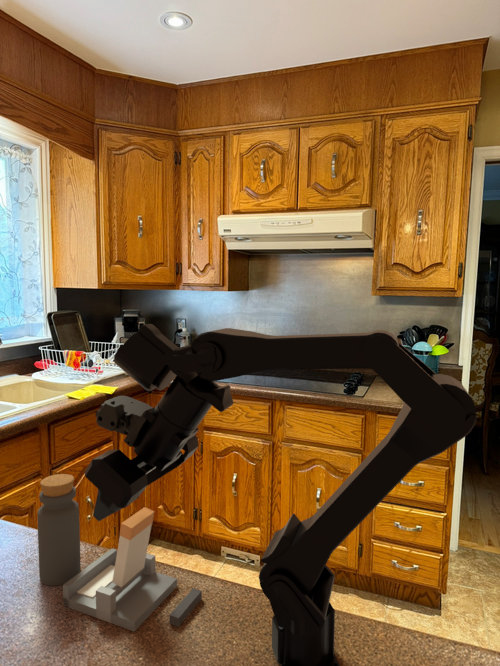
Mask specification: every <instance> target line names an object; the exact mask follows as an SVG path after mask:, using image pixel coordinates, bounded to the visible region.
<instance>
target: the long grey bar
mask: <svg viewBox="0 0 500 666" xmlns="http://www.w3.org/2000/svg"><path fill="white" fill-rule="evenodd" d="M202 592H203V591H202V590H200V589H197V588H194V587H193V588H192V589H191V590H190V591H189V592H188V593H187V594H186V595H185V597H184V598H183V599H182V600H181V601H180V603H178V605H177V606H176V607H175V608H174V609H173V611H172V612H171V613H170V614H169V615H168V616H169V618H168V619H169V625H172V626H176V627H180V626H181V624H182V623H183V622H184V621H185V620H186V619H187V618H188V617H189V615H190V614H191V612H192V611H193V610H194V609H195V607H196V606H198V604H199V603H200V602H201V601H202V598H203V596H202V595H203V593H202Z"/></svg>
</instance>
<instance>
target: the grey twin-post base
mask: <svg viewBox="0 0 500 666" xmlns="http://www.w3.org/2000/svg"><path fill="white" fill-rule="evenodd" d="M117 550H118V549H116V548H110V549H109V550H108V551H107V552H105V553H104V554H103V555H101V556H99V557H98V558H97V559H95V560H94V561H93V562H92V563H90V564H89V565H88V566H86V567H85V568H84V569H82V570H80V573H78V574H77V575H76V576H74V577H73V578H72V579H70V580H69V581H68V582H66V583H65V584H62V599H63V600H62V602H63V603H62V605H63V606H64V607H66V608H68V609H72V610H74V611H77V612H78V613H79V612H80V613H82V614H85V615H88V616H90V617H93V618H95V619H99V620H100V621H101V620H102V621H104V622H107V623H110V624H113V625H114V626H118V627H121V628H124V629H126V630H129V631H131V632H136V630H138V628H140V626H141V625H142V624H143V623H144V622H145V621H146V620H147V619H148V618H149V617H150V616H151V615H152V614H153V613H154V612H155V610H156V609H157V608H158V607H159V606H160V605H161V604H162V603H163V602H164V601H165V600H166V599H167V598H168V596H169V595H171V594H172V593H173V592H174V590H175V589H176V588H178V578H176V577H173V576H170V575H167V574H164V573H160V572H156V554H155V555H154V554H151V553H148V552H147V554H146V559H145V567H146V570H145V571H144V572H143V573H142V574H141V575H140V576H139V577H138V578H137V579H135V580H134V581H133V582H132V583H131V584H130V585H129V586H128V587H127V588H125V589H124V590H123V591H122V592H121V593H120V594H119V595H118V596H117V597H116V590H113V589H112V588H113V587H114V586H115V585H116V584H115V583H113V582H112V580H113V574H114V568H115V562H116V556H117ZM164 599H165V600H164Z"/></svg>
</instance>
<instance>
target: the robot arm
mask: <svg viewBox="0 0 500 666" xmlns="http://www.w3.org/2000/svg"><path fill="white" fill-rule="evenodd" d="M113 362H114V364H115V365H116V366H118V368H120V369H121V370H122V371H123V372H124V373H126V375H128V376H129V377H130V378H131V379H133V380H134V381H135V382H136V383H137V384H138V385H140V386H141V388H143V389H144V390H145V391H147V392H151V391H153V390H155V389H157V390H158V391H162V390H164V389H166V390H165V393H164V394H163V395H162V396H161V399H160V400H159V401H158V403H157V404H156V405H155V406H154V407H153V406H151V405H149V404H148V403H145V402H143V401H140V400H137V399H136V398H133V397H130V396H127V395H118V396H115V397H112V398H110V399H107V400H105V401H104V402H103V403H102V404H100V407H99V409H98V410H96V411H95V417H96V418H95V419H96V421H95V422H96V423H97V425H98V427H101V428H103V429H105V430H108V431H109V432H117V433H119V434H121V435H124V436H125V438H124V439H123V442H124V443H125V444H126V445H127V446H129V448H132V447H133V452H134V454H135V455H136V456H135V457H133V458H131V459H130V458H129V456H127V455H126V454H125V453H124V452H123V451H122V450H120V449H119V448H118V449H109V450H107V451H105V452H104V453H102V454H100V455H98V456H97V457H94V458H93V459H91V460H90V463H89V464H88V465H87V467H86V469H85V470H84V478H86V479H87V480H88V481H89V482H90V483H91V484H93V486H94V487H96V488H97V494H96V498H95V499H96V500H95V505H94V509H93V514H92V516H93V518H94V519H96V520H97V522H101V521H102V520H104V519H105V518H108V517H110V516H111V515H113V514H114V513H117V512H119V511H120V510H123V509H125V508H127V507H128V506H130V505H131V504H132V503H134V502H135V501H137V499H139V498H140V496H141V495H142V493H143V492H144V491H145V489H146V488H147V487H148V486H150V485H151V484H153V483H154V482H156V481H158V480H159V479H161V478H163V477H164V476H165V475H167V474H169V473H170V472H172V471H173V470H176V469H177V468H179V467H180V465H182V464H183V463H185V462H186V461H187V460H188V459H189V458H190V457H192V456H193V455H194V453H195V452H196V451H197V449H198V447H199V440H198V436H196V435H197V433H198V432H199V430H200V428H198V426H199V425H200V424H201V422H202V420H203V419H204V417H206V415H207V413H209V411H210V409H211V408H214V409H216V410H217V411H218V412H219V413H222V412H225V411H226V410H227V409H229V408H230V407H232V406H233V405H234V400H233V396H232V394H231V385H229V384H227V385H226V384H225V385H220V384H218V383H217V382H218V381H223V380H228V379H233V378H239V377H243V376H246V375H247V376H248V375H250V374H254V373H255V374H256V373H259V372H264V371H271V370H273V371H275V370H277V371H278V370H279V371H280V370H281V371H282V370H284V371H285V370H348V369H349V370H351V369H353V370H354V369H356V370H359V369H360V370H363V369H364V370H365V369H367V370H368V369H369V370H372V371H373V372H375V373H376V375H378V376H379V377H380V378H381V380H382V381H384V383H385V384H387V386H388V387H389V388H390V389H391V390H392V391H393V392H394V393H395V395H396V396H398V398H400V400H401V401H402V402H404V403H403V405H402V407H401V408H400V411H399V412H398V415H397V417H396V419H395V420H394V422H393V424H392V426H391V428H390V430H389V431H388V432H387V434H386V435H385V437H384V438H382V440H381V441H380V442H379V443H378V444H377V445H376V447H374V449H373V450H372V451H371V452H370V453H369V454H368V455H367V456H366V457H365V458H364V459H363V460H362V462H361V463H360V464H359V465H358V466H357V467H356V468H355V469H354V471H352V473H351V474H350V475H349V476H348V477H347V478H346V479H345V480H344V482H342V484H340V486H339V487H338V488H337V489H336V490H335V491H334V492H333V493H332V494H331V496H330V497H329V498H328V499H327V500H326V501H325V502H324V503H323V504H322V505H321V507H320V508H319V509H318V510H317V511H316V512H315V513H314V514H313V515H312V516H310V517H308V518H306V519H304V520H300V519H299V518H298V517H297V516H296V514H295V513H292V514H291V516H290V518H289V519H288V521H287V522H286V524H285V525H284V526H283V527H282V528H281V529H279V530H276V531H275V532H274V534H273V536H272V538H271V539H270V541H269V543H268V545H267V547H266V549H265V552H264V553H263V555H262V557H261V559H260V562H261V563H263V565H262V567H261V569H260V571H259V573H258V580H259V586H260V588H261V590H262V593H263V594H264V596H265V597H266V598H267V600H268V601H269V604H270V607H271V609H272V610H271V611H272V613H273V616H272V617H271V649H272V651H273V655H274V658H275V660H276V662H277V664H278V665H280V666H341V665H340V662H339V660H338V658H337V657H336V655H335V628H336V627H335V623H336V620H335V619H336V610H335V609H334V606H333V605H332V604H331V602H330V599H331V596H332V591H333V585H334V581H335V579H336V578H335V576H336V574H334V572H333V571H332V570H331V569H330V567H329V566H328V565H327V563H328V561H329V559H330V557H331V555H332V554H333V553H334V551H335V550H336V549H337V548H338V547H339V546H340V545H342V543H343V542H344V541H345V539H347V538H348V536H349V535H351V534H352V532H353V531H354V530H355V529H356V528H357V527H358V526H359V525H360V524H362V522H363V521H364V520H365V519H366V518H367V517H368V516H369V515H370V514H371V512H373V510H374V509H376V507H377V506H379V504H380V503H382V501H383V500H385V498H386V497H387V496H388V495H389V494H390V493H391V492H392V491H393V490H394V488H396V487H397V486H398V484H400V483H401V481H402V480H403V479H404V478H405V477H406V476H407V475H408V474H409V473H410V472H411V471H412V470H413V469H414V468H415V467H416V466H417V465H419V464H421V463H424V462H425V461H427V460H429V459H431V458H434V457H436V456H439V455H441V454H443V453H444V452H445V451H447V450H448V449H450V448H451V447H452V446H454V445H456V444H457V443H458V442H459V441H461V440H462V439H464V438H465V437H466V436H468V435H469V434H470V433H471V432H472V430H473V428H474V427H475V426H476V423H477V420H478V416H477V406H476V404H475V402H474V399H473V398H472V396H471V394H470V393H469V392H468V391H467V389H466V388H465V387H464V385H463V384H462V383H461V382H460V381H459V380H458V379H456V378H454V377H453V376H451V375H447V374H443V373H438V374H437V373H436V372H435V371H434V370H432V369H431V368H430V367H429V366H428V365H427V364H426V363H424V362H423V361H422V359H419V357H417V356H416V355H415V354H414V353H413V352H412V351H410V350H409V349H407V347H405V346H404V345H403V344H401V343H400V342H399V341H398V339H397V338H396V336H395V335H394V334H393V333H392V332H389V331H387V330H384V329H377V330H374V331H369V332H352V333H351V332H350V333H346V332H345V333H325V334H324V333H321V334H320V333H318V334H317V333H316V334H294V335H290V334H289V335H288V334H287V335H270V334H265V333H260V332H257V331H252V330H244V329H237V328H231V327H230V328H229V327H228V328H227V327H226V328H220V329H215V330H211V331H210V330H209V331H206V332H205V331H204V332H202V333H199V334H198V335H196V337H195V338H194V340H192V341H191V344H189V345H184V346H181V347H179V346H177V345H176V344H175V343H173V341H171V340H170V339H168V337H167V336H165V335H164V334H163V333H162V332H161V331H160V329H159V328H157V326H155V325H154V324H152V323H147V324H142V325H141V326H140V329H139V330H138V331H136V332H135V333H133V334H132V335H131V336H130V337H129V338H128V339H127V340H126V341H125V342H124V343H122V344H121V345H120V346H119V347H118V348H117V350H116V352H115V354H114V357H113ZM167 387H168V388H167ZM182 450H183V451H184V452H182Z"/></svg>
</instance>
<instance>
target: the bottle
mask: <svg viewBox="0 0 500 666" xmlns="http://www.w3.org/2000/svg"><path fill="white" fill-rule="evenodd" d="M74 477H75V476H73V475H72V474H69V473H68V474H67V473H58V474H57V473H56V474H52V475H49V476H46V477H45V478H43V479H42V480H41V481H40V487H41V491H40V492H39V495H38V497H39V498H38V499H39V502H40V504H42V505H41V506H40V507H39V508H38V510H37V512H36V513H37V514H36V515H37V544H38V545H37V547H38V548H37V549H38V550H37V551H38V569H39V570H38V571H39V572H38V573H39V581H40V582H41V583H42V584H43V585H46V586H61V585H62V586H63V585H64V584H65V583H66V582H68V581H69V580H70V579H72V578H73V577H74V576H76V575H77V574H78V573H80V572H81V533H80V532H81V530H80V526H81V525H80V507H79V503H78V501H75V500H74V499H75V497H76V495H77V490H76V487H75V486H74V482H75V478H74Z"/></svg>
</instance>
